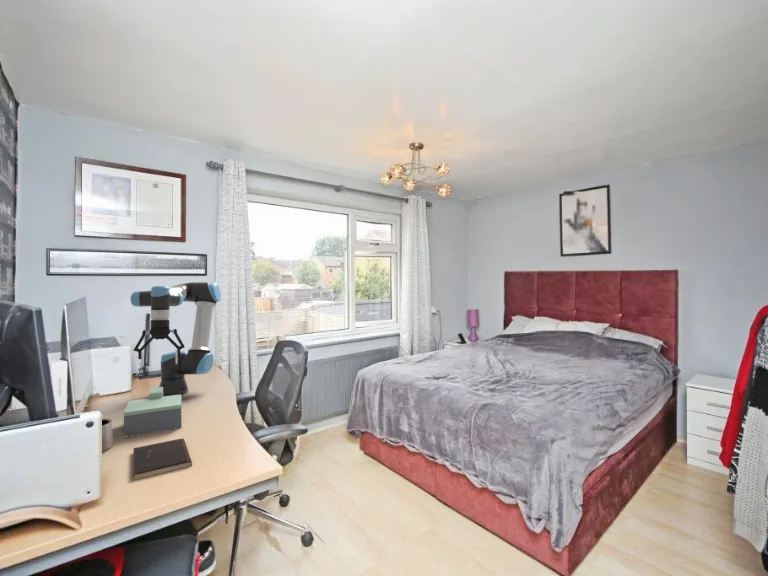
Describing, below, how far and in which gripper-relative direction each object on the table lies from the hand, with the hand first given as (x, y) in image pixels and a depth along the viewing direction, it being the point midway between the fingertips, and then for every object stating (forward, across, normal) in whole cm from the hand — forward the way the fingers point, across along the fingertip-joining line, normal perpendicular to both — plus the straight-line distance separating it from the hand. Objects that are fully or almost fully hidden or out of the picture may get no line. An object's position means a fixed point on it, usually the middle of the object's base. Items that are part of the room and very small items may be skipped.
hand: (159, 365), depth 173 cm
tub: (+24, -1, -14) cm, 27 cm away
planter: (+25, -20, -32) cm, 45 cm away
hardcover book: (+25, +2, -53) cm, 59 cm away
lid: (+17, -1, -9) cm, 19 cm away
